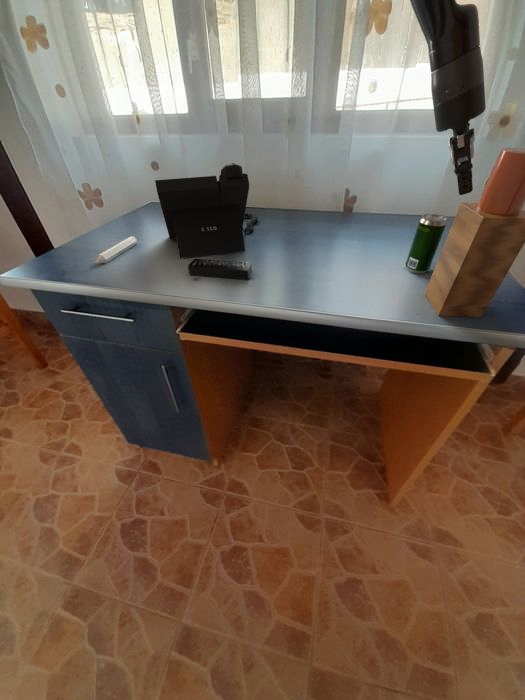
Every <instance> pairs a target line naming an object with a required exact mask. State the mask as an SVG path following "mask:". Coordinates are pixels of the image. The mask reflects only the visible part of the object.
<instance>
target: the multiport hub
mask: <svg viewBox="0 0 525 700" xmlns="http://www.w3.org/2000/svg"><path fill="white" fill-rule="evenodd" d="M187 269H188V275H189V276H191V277H202V278H203V277H204V278H218V279H231V280H243V281H247V280H250V277H251V275H252V272H253V263H252V262H250V261H249V262H248V261H233V260H232V261H231V260H218V259H205V258H203V259H202V258H193V259H192V260H191V261H190V262H189V264H188V265H187Z"/></svg>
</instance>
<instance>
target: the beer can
mask: <svg viewBox="0 0 525 700" xmlns="http://www.w3.org/2000/svg"><path fill="white" fill-rule="evenodd" d="M447 221H448V217H447V216H445V215H443V214H439V213H424V214H423V215H422V216H421V218H420V219H419V221H418V225H417V227H416V230H415V234H414V237H413V240H412V243H411V246H410V249H409V252H408V254H407V258H406V261H405V265H404V266H405V270H406V271H408V272H410V273H412V274H420V275H421V274H422V275H423V274H426V273H427V272H428V271H429V270H430V268H431V266H432V264H433V260H434V258H435V255H436V253H437V250H438V248H439V244H440V242H441V241H442V240H441V239H442V238H443V234H444V232H445V229H446V227H447V223H448V222H447Z"/></svg>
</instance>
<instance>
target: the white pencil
mask: <svg viewBox="0 0 525 700" xmlns="http://www.w3.org/2000/svg"><path fill="white" fill-rule="evenodd" d="M137 244H138V239H137V238H136V237H135V236H131V235H130V236H129V237H126V238H125V239H124V240H122V241H119V242H118V243H116V244H115V245H113V246H112V247H109V248H108V249H106V250H104V251H102V252H100V253H99V254H98V256H97V259H96V261H95V262H94V265H98V264H107V263H108V262H110V261H112V260H114V259H115V258H116V257H118V256H120V255H121V254H123V253H125V252H126V251H128V250H130V249H131V248H133V247H134V246H136V245H137Z"/></svg>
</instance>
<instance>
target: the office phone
mask: <svg viewBox="0 0 525 700" xmlns="http://www.w3.org/2000/svg"><path fill="white" fill-rule="evenodd" d="M154 182H155V183H154V184H155V188H156V193H157V196H158V200H159V204H160V208H161V211H162V215H163V220H164V222H165V225H166V229H167V233H168V237H169V240H170V241H171V240H175V242H176V246H177V252H178V258H179V259H181V260H182V259H188V258H197V257H206V256H214V255H223V254H232V253H238V252H239V253H240V252H246V247H245V246H246V245H245V238H244V234H247V233H250V232H252V231H253V230H254V226H253V224H254V223H256V222H257V221H258V218H259V215H258V214H256V213H253V212H252V213H251V212H246V209H247V203H248V197H249V190H250V181H249V174H247V173H244V172H243V166H242V165H240V164H237V163H234V162H232V163H229V164H225V165H224V166H223V167H222V168H221V170H220V174H219V175H218V178H217V175H207V176H195V177H193V176H192V177H182V178H181V177H180V178H167V179H165V178H164V179H157V180H156V179H155V180H154ZM247 218H250V219H249V220H247V222H246V227H245V228H244V221H245V219H247Z"/></svg>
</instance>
